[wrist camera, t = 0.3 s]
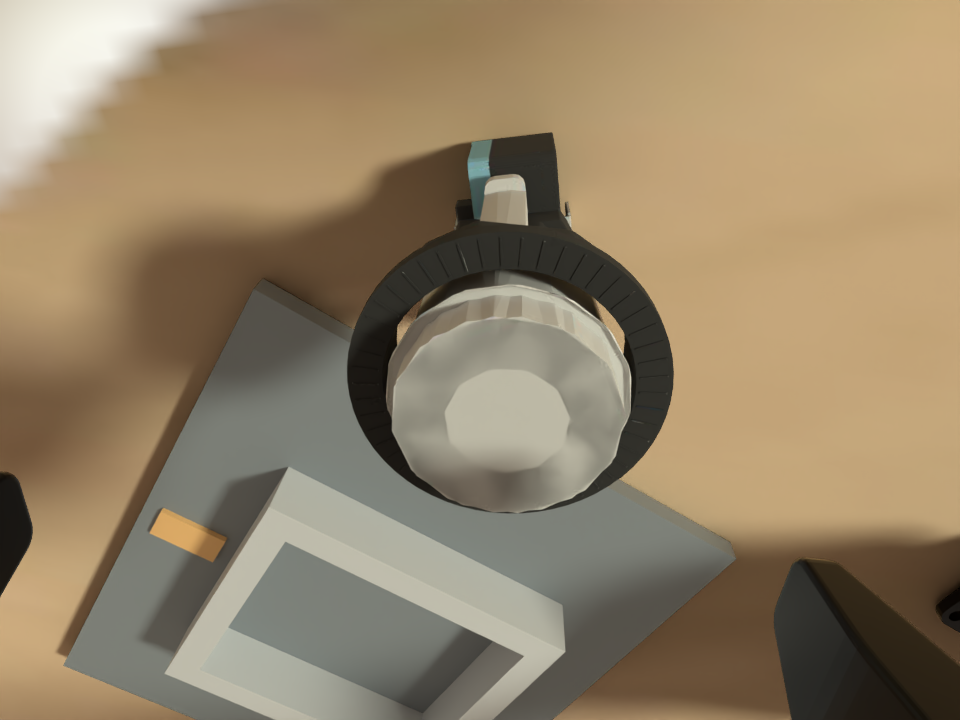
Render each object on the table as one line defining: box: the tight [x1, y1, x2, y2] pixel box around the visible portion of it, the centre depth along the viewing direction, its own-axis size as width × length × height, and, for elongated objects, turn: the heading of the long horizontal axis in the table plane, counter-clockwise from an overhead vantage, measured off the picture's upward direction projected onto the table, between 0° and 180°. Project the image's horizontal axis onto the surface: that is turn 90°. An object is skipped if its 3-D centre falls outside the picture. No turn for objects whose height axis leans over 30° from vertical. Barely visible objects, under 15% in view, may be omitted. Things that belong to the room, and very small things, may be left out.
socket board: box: [63, 279, 736, 720], centre depth 26 cm, size 18×20×3 cm
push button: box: [347, 133, 674, 514], centre depth 15 cm, size 7×5×10 cm
